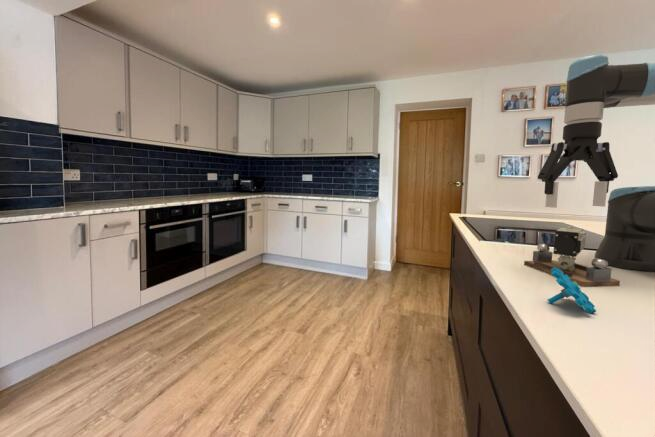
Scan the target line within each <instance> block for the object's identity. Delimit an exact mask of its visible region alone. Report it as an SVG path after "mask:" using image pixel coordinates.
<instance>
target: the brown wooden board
mask: <svg viewBox="0 0 655 437" xmlns="http://www.w3.org/2000/svg"><path fill="white" fill-rule="evenodd" d="M558 261H559V260H554V259H552V262H538V261H533V260H524V261H523V262H524V264H523V265H524V266H526V267H528V266H529V268H530V269H533V270H536V271H540V272H541V273H545V274H548V275H550V276H552V277H554V276H553V275H552V271H551V269H552V268H554V267H555V268H557V266H558ZM564 263H565V264H568V263H567V262H564ZM574 267H575V269H574V270H573V271H572V272H570V271H569V270H562V269H560V270H561V271H562V272H563V273H564V275H568V276H569V277H570V278H571V280H570V281H571V282H574V281H575V282H576V283H577V284H578V285H579V287H582V288H590V287H591V288H592V287H597V288H598V287H619V286H620V285H621V281H620V280H618V279H615V278H612V277H611V279H610V281H603V282H592V281H590V280H587V279H586V270H587V267H588V266H585V265H582V264H579V263H576V262H575V264H574ZM557 269H558V268H557Z"/></svg>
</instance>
